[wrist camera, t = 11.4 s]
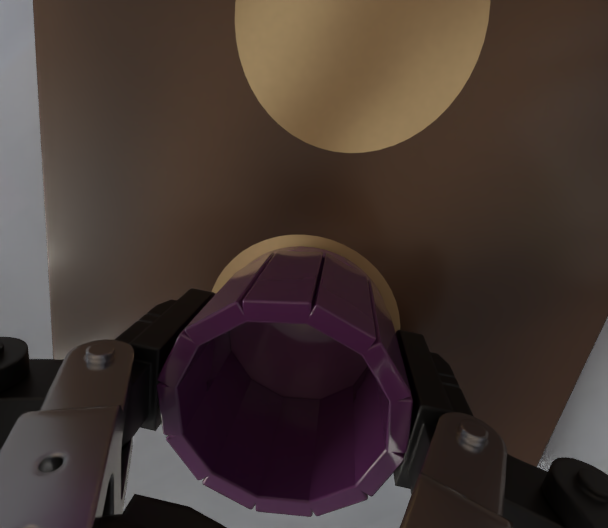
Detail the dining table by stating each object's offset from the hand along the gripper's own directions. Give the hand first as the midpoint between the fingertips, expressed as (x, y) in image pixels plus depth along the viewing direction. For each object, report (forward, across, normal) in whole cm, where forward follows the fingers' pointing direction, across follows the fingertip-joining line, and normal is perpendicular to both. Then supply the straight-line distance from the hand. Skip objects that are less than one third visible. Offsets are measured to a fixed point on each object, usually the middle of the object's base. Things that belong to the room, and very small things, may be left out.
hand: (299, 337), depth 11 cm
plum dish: (+1, 0, 0) cm, 1 cm away
